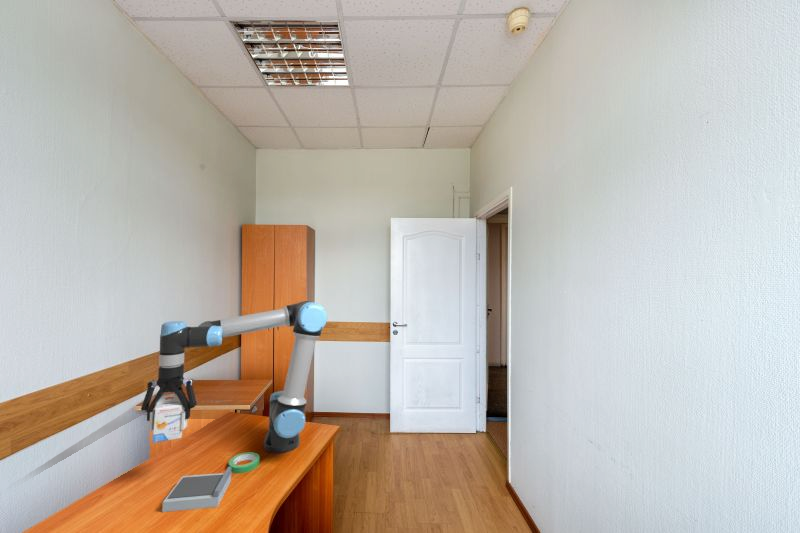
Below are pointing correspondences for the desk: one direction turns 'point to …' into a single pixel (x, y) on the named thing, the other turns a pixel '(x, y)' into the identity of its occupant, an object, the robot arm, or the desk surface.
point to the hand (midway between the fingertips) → (168, 428)
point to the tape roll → (246, 467)
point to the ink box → (167, 419)
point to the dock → (197, 492)
